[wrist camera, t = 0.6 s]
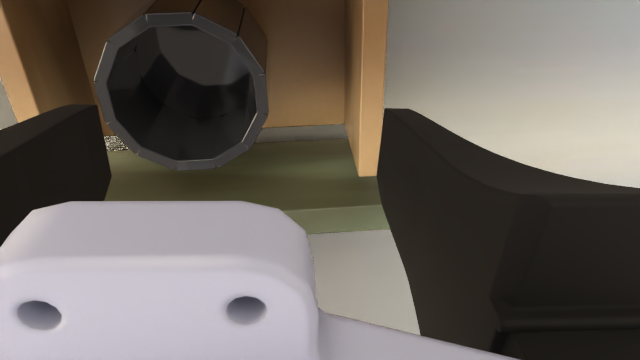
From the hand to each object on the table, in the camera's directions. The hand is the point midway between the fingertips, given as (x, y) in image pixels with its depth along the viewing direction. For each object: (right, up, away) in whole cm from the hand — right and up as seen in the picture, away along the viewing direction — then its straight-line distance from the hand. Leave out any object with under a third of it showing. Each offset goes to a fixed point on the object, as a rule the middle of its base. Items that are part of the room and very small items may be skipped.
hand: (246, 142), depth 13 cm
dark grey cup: (-3, +4, +7) cm, 9 cm away
